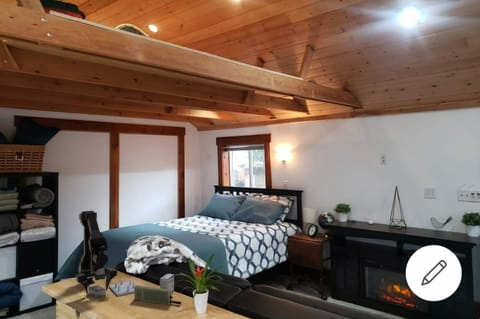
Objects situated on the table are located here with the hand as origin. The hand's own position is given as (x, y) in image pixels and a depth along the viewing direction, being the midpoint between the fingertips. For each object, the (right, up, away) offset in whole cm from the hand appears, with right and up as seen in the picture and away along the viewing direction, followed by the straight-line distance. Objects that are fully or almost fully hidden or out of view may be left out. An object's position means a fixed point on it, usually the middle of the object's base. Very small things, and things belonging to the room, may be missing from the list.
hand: (96, 292), depth 175 cm
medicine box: (+35, -2, +2) cm, 35 cm away
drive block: (0, -2, 0) cm, 2 cm away
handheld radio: (+33, -2, -9) cm, 34 cm away
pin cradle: (+12, -1, +8) cm, 14 cm away
